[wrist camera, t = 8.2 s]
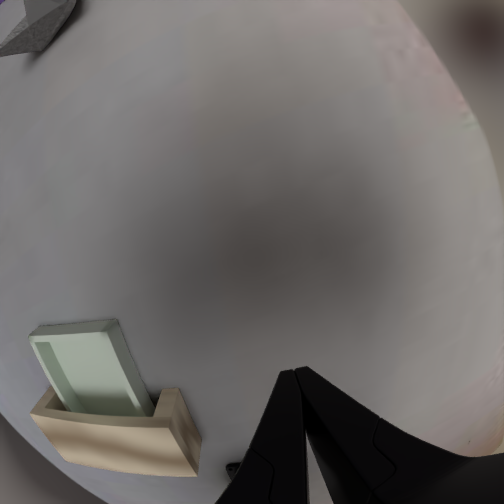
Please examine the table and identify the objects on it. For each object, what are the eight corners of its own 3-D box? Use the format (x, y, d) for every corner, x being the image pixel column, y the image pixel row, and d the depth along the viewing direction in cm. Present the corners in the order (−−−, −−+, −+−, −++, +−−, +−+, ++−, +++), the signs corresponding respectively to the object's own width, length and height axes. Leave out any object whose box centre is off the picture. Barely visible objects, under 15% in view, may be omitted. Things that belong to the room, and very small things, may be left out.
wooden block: (202, 436, 23) (197, 476, 18) (81, 431, 23) (66, 461, 18) (179, 384, 22) (168, 427, 17) (51, 384, 22) (29, 413, 16)
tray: (165, 423, 23) (161, 441, 20) (92, 420, 23) (84, 435, 20) (118, 316, 20) (106, 331, 18) (41, 324, 20) (27, 336, 18)
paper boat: (60, 75, 15) (-21, 42, 6) (22, 78, 15) (-48, 57, 6) (122, -32, 13) (75, -84, 4) (76, -20, 13) (28, -58, 4)
